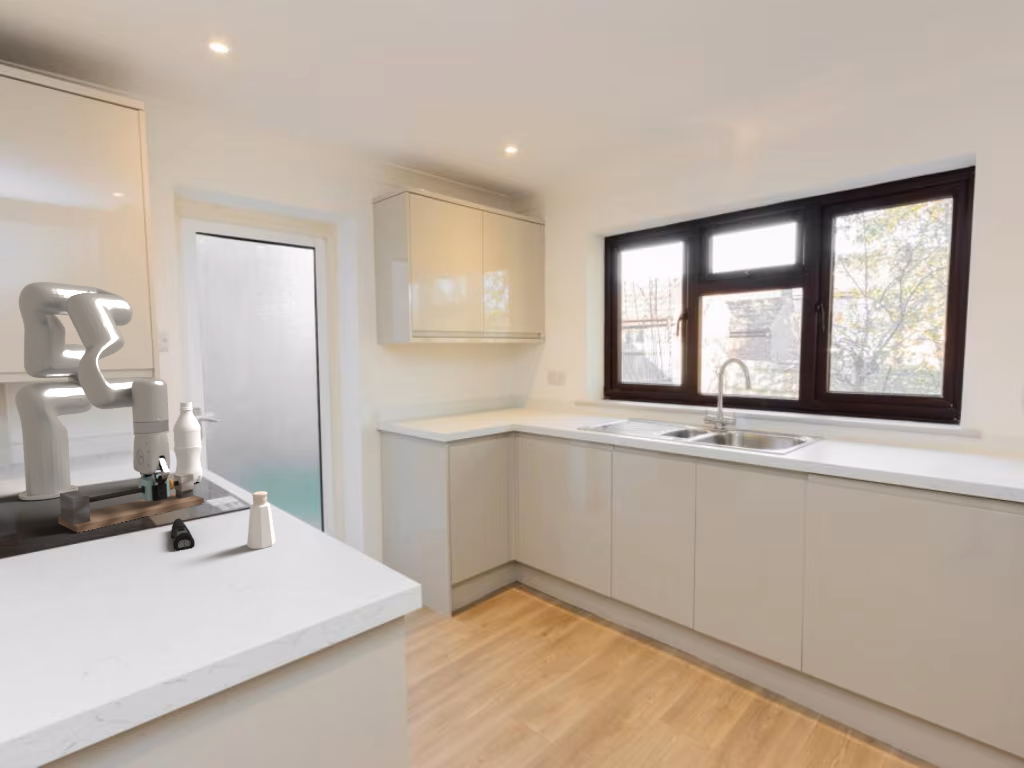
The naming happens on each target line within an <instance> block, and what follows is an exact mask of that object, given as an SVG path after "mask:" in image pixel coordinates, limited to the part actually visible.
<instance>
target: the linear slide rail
mask: <svg viewBox="0 0 1024 768" xmlns="http://www.w3.org/2000/svg"><path fill="white" fill-rule="evenodd" d="M194 485H195V484H194V480H193V474H191V473H187V472H185V473H179V474H175V473H174V474H173V479H172V478H169V487H170V491H171V490H175V492H172V493H170V496H169V497H167V499H163V500H158V501H153V500H150V501H147V500H144V499H139V500H135V501H129V502H125V503H120V504H119V503H118V504H114V505H111V506H106V507H102V508H100V507H99V508H96V509H92V510H91V509H90V503H94V502H101V501H105V500H110V499H115V498H119V497H124V496H130V495H134V494H135V495H137V494H139V493H141V492H145V487H142V488H139V487H137V488H132V489H126V490H122V491H116V492H112V493H107V494H106V493H105V494H100V495H96V496H90V495H89V494H86V493H83V492H82V491H79V490H78V491H70V492H64V493H60V497H59V501H60V503H59V504H60V516H58V517H57V518H58V520H57V521H58V524H59V525H60V526H63V527H65V528H67V529H69V530H71V531H72V532H75V533H77V534H80V533H84V532H83V531H85V532H87V531H88V530H89V531H92V529H93V530H96V529H97V528H98V529H101V527H102V528H105V526H106V527H110V526H114V525H113V524H115V525H119V524H122V523H121V522H123V523H126V522H125V521H128V522H130V521H129V520H132V521H134V520H133V519H136V520H139V519H138V518H140V519H142V518H141V517H145V516H149V515H153V514H157V513H162V512H166V513H169V512H168V511H170V512H174V511H173V510H175V511H178V510H177V509H179V510H181V509H182V508H183V509H187V508H191V506H192V507H195V505H196V506H200V505H203V504H202V503H205V498H204V497H202V496H201V497H200V496H198V495H195V494H194V489H195V488H194V487H195V486H194ZM199 504H200V505H199ZM186 507H187V508H186ZM183 509H182V510H183ZM162 514H163V513H162ZM153 516H154V515H153ZM149 517H150V516H149ZM145 518H146V517H145ZM118 523H119V524H118ZM109 525H110V526H109ZM79 532H80V533H79Z"/></svg>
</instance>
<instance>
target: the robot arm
mask: <svg viewBox="0 0 1024 768" xmlns="http://www.w3.org/2000/svg"><path fill="white" fill-rule="evenodd" d="M18 308H19V311H20V314H21V315H20V316H21V318H22V323H23V329H24V332H23V333H24V335H23V366H24V367H23V368H24V371H25V373H26V374H27V375H28V376H30V377H32V378H36V379H56V378H57V379H58V378H59V379H60V378H67V380H68V381H52V382H51V381H50V382H38V383H35V382H34V383H30V384H26V385H24V386H22V387H20V388H19V389H18V390H17V392H16V393H15V396H14V398H15V399H14V401H15V402H14V403H15V406H16V409H17V413H18V416H19V420H20V425H21V434H22V446H23V447H22V448H23V449H22V450H23V463H24V477H25V480H24V481H25V482H24V483H25V490H24V491H22V492H20V493H19V494H18V499H19V500H21V501H39V500H42V501H43V500H49V499H50V500H51V499H54V498H60V493H64V492H70V491H79V487H78V485H74V484H73V485H72V484H71V481H72V480H71V468H70V467H71V466H70V450H69V434H68V430H67V427H66V426H65V425H64V423H63V422H62V421H61V420H60V419H59V418H58V417H59V416H65V415H66V416H68V415H75V414H83V413H85V412H89V411H90V410H91V409H92V408H93V407H95V408H97V409H100V410H113V409H121V408H131V411H132V428H133V431H132V432H133V436H134V439H133V455H132V456H133V457H132V458H133V462H132V463H133V470H134V471H136V472H138V473H139V474H140V478H144V477H150V476H152V479H153V484H154V485H152V500H153V501H158V500H163V499H167V478H168V477H169V475H170V469H171V453H170V452H171V451H170V443H169V438H168V433H170V420H169V398H168V397H169V396H168V384H167V382H166V381H165V380H163V379H161V378H144V377H122V378H121V377H118V378H105V377H104V375H103V373H102V371H101V368H100V366H99V360H102V359H104V358H106V357H109V356H111V355H113V354H115V353H117V352H119V351H120V350H121V349H122V348H123V347H124V346H125V340H124V336H123V335H122V333H121V331H120V329H119V327H120V326H121V327H123V326H127V325H128V324H129V323H131V322H132V319H133V314H134V313H133V309H132V306H131V304H130V303H129V301H128V300H127V299H126V298H125V297H123V296H122V295H119V294H116V293H113V292H111V291H107V290H105V289H102V288H98V287H95V286H94V287H93V286H88V285H87V286H86V285H76V284H70V283H69V284H68V283H60V282H59V283H58V282H46V281H45V282H44V281H42V282H41V281H39V282H32V283H28V284H26V285H25V286H24V287H23V288H22V290H21V291H20V293H19V296H18ZM57 315H61V316H69V318H70V321H71V322H72V324H73V327H74V328H75V331H76V332H77V335H78V337H79V339H80V341H81V344H76V343H75V344H74V343H73V344H71V343H66V329H65V328H66V327H65V326H64V324H63V322H62V321H61V320H60V319H59V317H58V316H57ZM118 326H119V327H118ZM156 475H159V476H158V478H157V476H156Z"/></svg>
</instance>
